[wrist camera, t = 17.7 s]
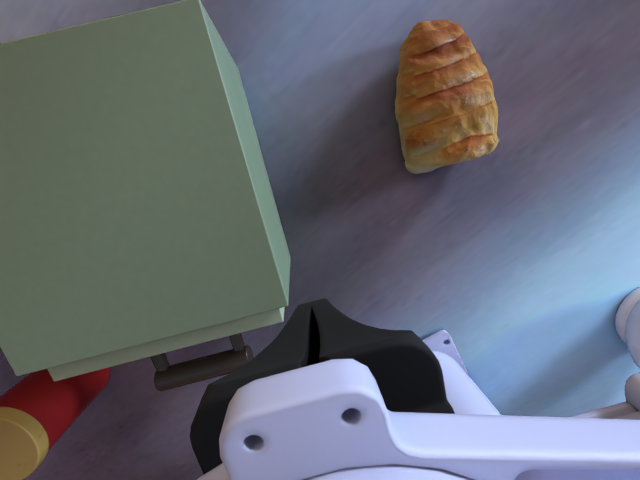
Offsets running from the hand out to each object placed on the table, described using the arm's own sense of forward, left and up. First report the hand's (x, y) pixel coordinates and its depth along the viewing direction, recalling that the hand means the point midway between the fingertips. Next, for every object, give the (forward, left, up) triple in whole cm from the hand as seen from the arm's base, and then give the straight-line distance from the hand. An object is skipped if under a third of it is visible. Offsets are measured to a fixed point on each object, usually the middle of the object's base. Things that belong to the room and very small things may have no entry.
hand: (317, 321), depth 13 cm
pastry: (+5, -13, -11) cm, 17 cm away
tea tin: (+1, +20, -10) cm, 23 cm away
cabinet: (+9, +6, -10) cm, 15 cm away
